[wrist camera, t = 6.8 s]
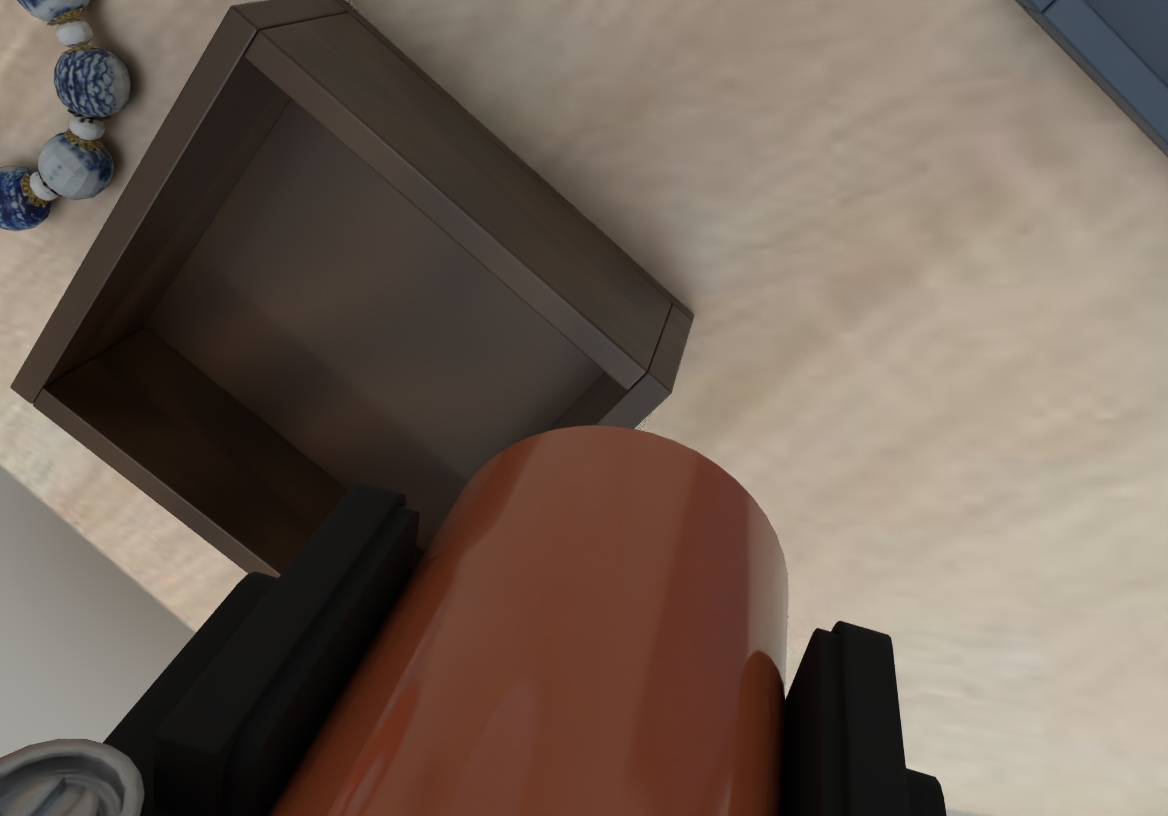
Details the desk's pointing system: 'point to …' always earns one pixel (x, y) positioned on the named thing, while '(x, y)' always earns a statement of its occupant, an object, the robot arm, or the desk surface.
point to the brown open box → (337, 296)
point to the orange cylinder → (572, 649)
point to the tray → (1116, 52)
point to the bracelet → (75, 156)
